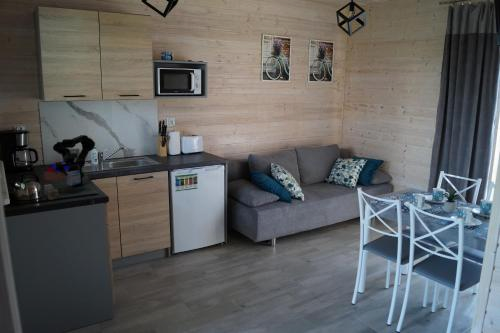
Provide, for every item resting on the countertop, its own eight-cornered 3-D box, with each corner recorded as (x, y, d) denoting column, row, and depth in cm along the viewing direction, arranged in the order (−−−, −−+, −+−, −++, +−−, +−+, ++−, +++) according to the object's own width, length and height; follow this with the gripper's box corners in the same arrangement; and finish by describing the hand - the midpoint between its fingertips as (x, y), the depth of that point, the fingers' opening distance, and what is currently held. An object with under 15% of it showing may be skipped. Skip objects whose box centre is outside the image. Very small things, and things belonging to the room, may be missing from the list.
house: (74, 175, 328) (73, 161, 326) (57, 181, 309) (56, 165, 307) (62, 174, 331) (60, 160, 329) (44, 180, 312) (42, 165, 310)
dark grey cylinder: (53, 194, 271) (52, 185, 270) (55, 196, 267) (54, 187, 266) (45, 195, 268) (44, 187, 266) (47, 197, 264) (46, 188, 263)
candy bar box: (65, 167, 358) (64, 149, 354) (68, 166, 363) (67, 148, 359) (78, 168, 357) (76, 149, 353) (81, 166, 361) (79, 148, 358)
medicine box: (71, 185, 271) (70, 172, 269) (66, 185, 272) (65, 172, 271) (81, 183, 278) (80, 170, 276) (76, 182, 280) (75, 170, 278)
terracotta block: (51, 192, 275) (50, 184, 274) (53, 194, 272) (52, 185, 271) (45, 193, 273) (44, 185, 271) (46, 195, 270) (46, 186, 268)
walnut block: (56, 196, 266) (55, 189, 265) (58, 198, 262) (58, 190, 261) (48, 198, 262) (47, 190, 261) (50, 199, 259) (49, 192, 258)
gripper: (54, 150, 267) (60, 169, 261) (83, 147, 279) (90, 165, 273) (51, 160, 275) (58, 179, 269) (80, 157, 287) (87, 175, 281)
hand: (73, 174), depth 273 cm, fingers closed on medicine box, 9 cm apart
